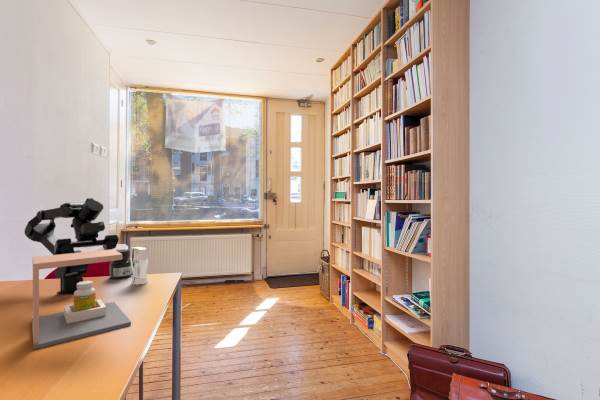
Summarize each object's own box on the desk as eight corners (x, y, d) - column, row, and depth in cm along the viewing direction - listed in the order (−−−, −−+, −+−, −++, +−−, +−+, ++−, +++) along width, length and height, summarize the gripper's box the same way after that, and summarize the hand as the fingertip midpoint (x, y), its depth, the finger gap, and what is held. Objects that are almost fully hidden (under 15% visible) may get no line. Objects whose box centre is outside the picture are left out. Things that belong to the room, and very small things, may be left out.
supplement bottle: (77, 319, 88) (77, 286, 88) (71, 315, 91) (70, 283, 91) (98, 313, 92) (98, 282, 92) (91, 309, 96) (91, 279, 95)
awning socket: (31, 321, 89) (31, 251, 88) (114, 304, 103) (114, 244, 103) (33, 349, 72) (33, 264, 72) (131, 325, 87) (131, 254, 86)
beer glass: (152, 281, 131) (152, 247, 131) (139, 286, 124) (139, 249, 124) (139, 280, 133) (140, 246, 133) (126, 284, 126) (126, 248, 126)
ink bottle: (115, 280, 132) (115, 253, 132) (104, 277, 137) (104, 251, 137) (136, 275, 141) (136, 250, 140) (126, 273, 145) (126, 248, 145)
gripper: (55, 215, 102) (64, 252, 95) (117, 213, 116) (128, 245, 109) (50, 236, 107) (58, 273, 100) (110, 232, 121) (120, 263, 114)
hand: (93, 262), depth 106 cm, fingers open, 9 cm apart
